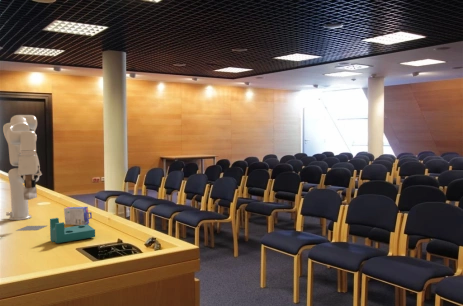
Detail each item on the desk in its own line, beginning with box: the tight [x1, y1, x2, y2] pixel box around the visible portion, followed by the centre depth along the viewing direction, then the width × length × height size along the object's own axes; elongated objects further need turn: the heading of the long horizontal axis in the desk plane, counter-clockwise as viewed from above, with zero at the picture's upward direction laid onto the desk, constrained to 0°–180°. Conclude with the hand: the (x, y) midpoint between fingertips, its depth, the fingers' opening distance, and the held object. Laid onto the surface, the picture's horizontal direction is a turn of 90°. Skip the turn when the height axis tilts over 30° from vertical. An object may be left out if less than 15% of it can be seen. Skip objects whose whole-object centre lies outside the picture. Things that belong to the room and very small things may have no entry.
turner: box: [23, 175, 38, 201], centre depth 236 cm, size 3×8×13 cm, turn 177°
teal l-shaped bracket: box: [49, 217, 96, 244], centre depth 209 cm, size 18×11×10 cm, turn 127°
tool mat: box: [15, 225, 47, 232], centre depth 237 cm, size 12×12×1 cm
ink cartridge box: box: [63, 206, 93, 226], centre depth 246 cm, size 10×6×14 cm
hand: (30, 187), depth 236 cm, fingers closed on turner, 3 cm apart
